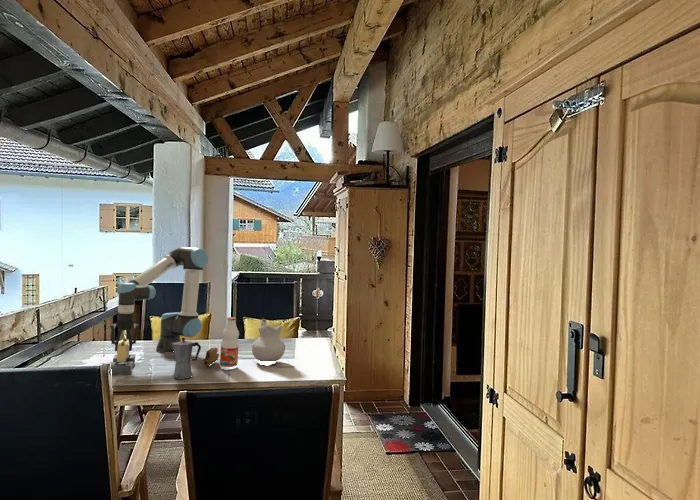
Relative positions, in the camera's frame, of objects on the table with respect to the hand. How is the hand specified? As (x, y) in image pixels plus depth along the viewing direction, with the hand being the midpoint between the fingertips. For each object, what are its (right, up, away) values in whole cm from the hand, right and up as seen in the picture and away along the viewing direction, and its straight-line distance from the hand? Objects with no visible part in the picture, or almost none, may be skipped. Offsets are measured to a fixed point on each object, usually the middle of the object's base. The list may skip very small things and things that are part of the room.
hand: (122, 356), depth 228 cm
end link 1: (-3, -6, +6) cm, 9 cm away
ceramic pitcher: (+69, -11, +30) cm, 76 cm away
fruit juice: (+51, -10, +14) cm, 54 cm away
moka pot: (+34, -9, -7) cm, 36 cm away
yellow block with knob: (0, -1, 0) cm, 1 cm away
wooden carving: (+40, -9, +16) cm, 44 cm away
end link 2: (+2, -6, -6) cm, 9 cm away
